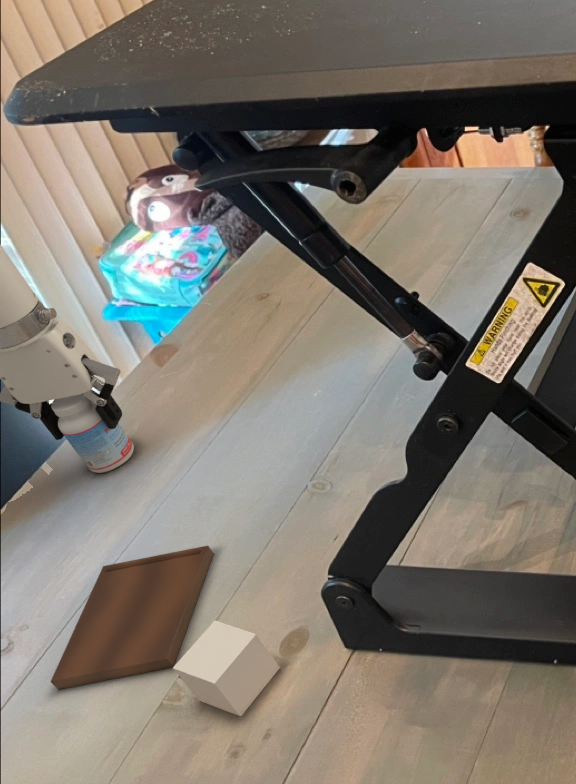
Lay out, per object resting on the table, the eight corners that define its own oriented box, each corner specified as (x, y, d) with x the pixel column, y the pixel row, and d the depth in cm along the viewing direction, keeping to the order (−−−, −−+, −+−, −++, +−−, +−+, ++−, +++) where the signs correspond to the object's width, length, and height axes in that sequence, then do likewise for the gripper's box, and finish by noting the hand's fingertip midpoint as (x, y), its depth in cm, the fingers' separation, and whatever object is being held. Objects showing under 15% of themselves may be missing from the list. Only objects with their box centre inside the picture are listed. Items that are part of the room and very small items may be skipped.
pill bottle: (139, 458, 145) (96, 398, 138) (93, 481, 143) (47, 421, 136) (131, 435, 149) (89, 376, 142) (87, 457, 147) (42, 398, 140)
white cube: (239, 653, 115) (214, 619, 112) (280, 667, 113) (256, 633, 109) (199, 701, 111) (172, 667, 108) (240, 717, 109) (214, 683, 105)
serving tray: (57, 689, 116) (49, 681, 115) (109, 573, 128) (102, 565, 127) (173, 667, 115) (166, 658, 114) (213, 553, 128) (208, 544, 127)
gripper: (93, 293, 134) (161, 396, 145) (-39, 319, 135) (39, 421, 146) (71, 328, 128) (144, 434, 139) (-68, 356, 129) (15, 459, 140)
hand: (89, 426), depth 142 cm, fingers open, 6 cm apart
